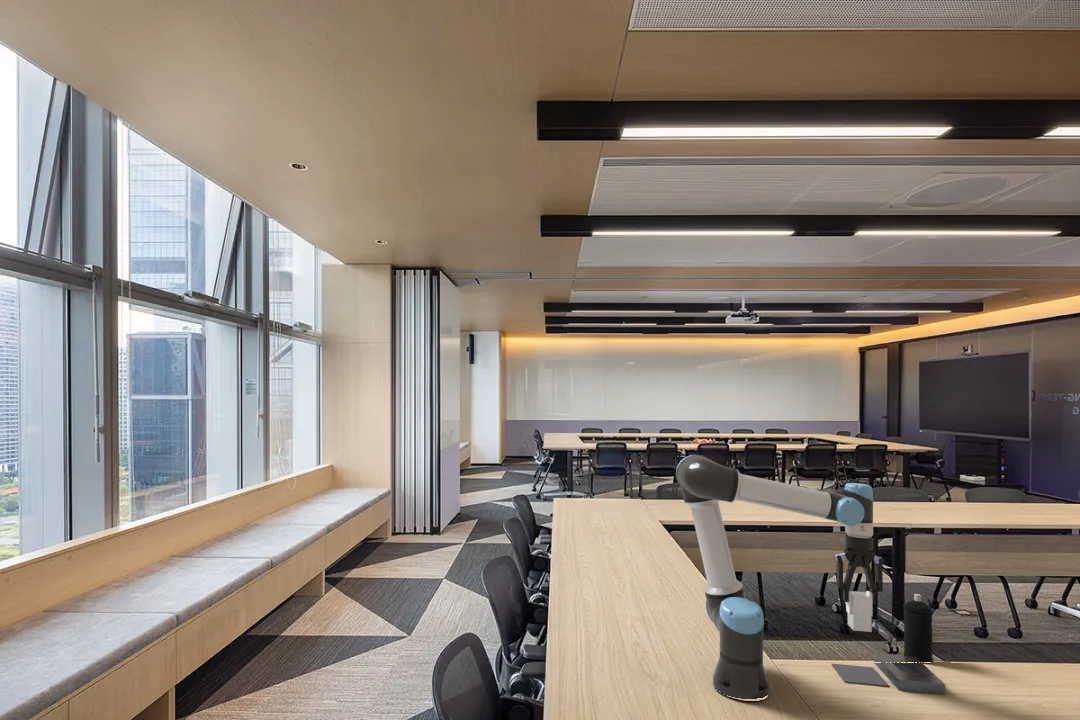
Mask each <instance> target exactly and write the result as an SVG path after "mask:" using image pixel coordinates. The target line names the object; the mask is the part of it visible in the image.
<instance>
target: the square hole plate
mask: <svg viewBox="0 0 1080 720" xmlns="http://www.w3.org/2000/svg"><path fill="white" fill-rule="evenodd" d="M874 662H881V663H874ZM886 662H887V663H886ZM890 662H891V663H890ZM894 662H895V663H894ZM897 662H899V663H897ZM901 662H906V663H901ZM907 662H914V663H907ZM915 662H917V663H915ZM919 662H920V661H919V660H918V659H917V658H916V657H910V656H904V655H898V654H897V655H896V654H886V653H876V652H875V653H873V663H874V665H875V666H876V667H877V668H878V669H879V670H880V671H881V672H882V673H883V674H884V676H885V677H886V678H887V679H888V680H889V681H890V682H891V683H892V685H893V686H894V687H895V688H896V689H897V690H898V691H903V692H913V693H922V694H933V695H943V696H945V695H946V683H944V681H943V680H942V679H941V678H939V677H938V676H937V675H936V674H935V673H933V672H932V671H931V669H929V668H928V667H927V666H926V665H925V663H921V662H920V663H919Z"/></svg>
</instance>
